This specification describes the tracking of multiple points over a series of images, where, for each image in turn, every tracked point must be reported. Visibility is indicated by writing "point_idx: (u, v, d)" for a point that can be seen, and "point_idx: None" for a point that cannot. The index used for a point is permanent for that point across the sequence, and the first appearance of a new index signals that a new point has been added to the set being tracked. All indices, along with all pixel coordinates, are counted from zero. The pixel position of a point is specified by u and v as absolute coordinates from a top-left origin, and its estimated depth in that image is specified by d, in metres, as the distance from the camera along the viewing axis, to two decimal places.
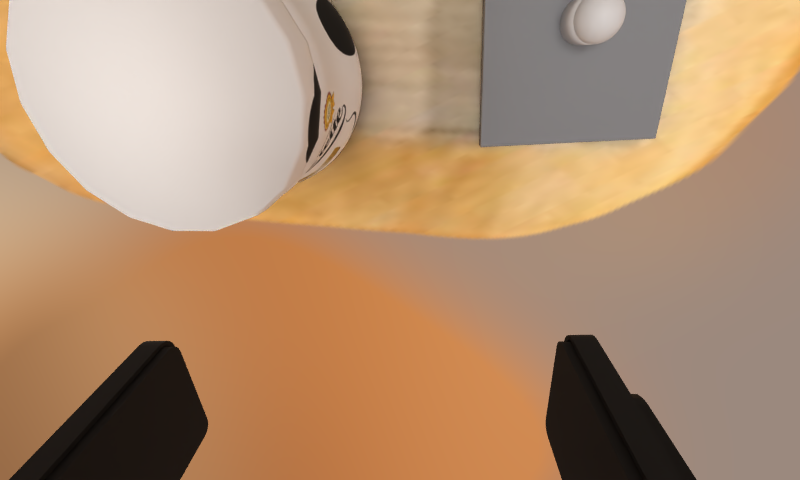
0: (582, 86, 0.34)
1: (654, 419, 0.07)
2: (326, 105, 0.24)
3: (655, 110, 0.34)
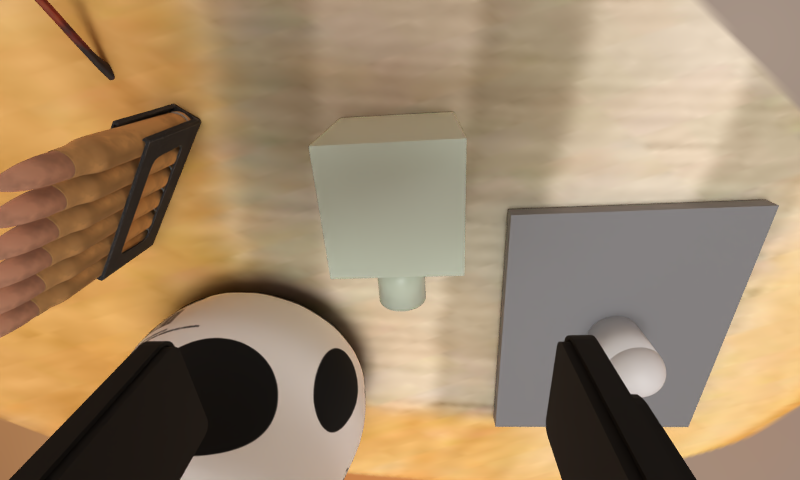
0: None
1: (654, 419, 0.07)
2: None
3: (689, 406, 0.31)
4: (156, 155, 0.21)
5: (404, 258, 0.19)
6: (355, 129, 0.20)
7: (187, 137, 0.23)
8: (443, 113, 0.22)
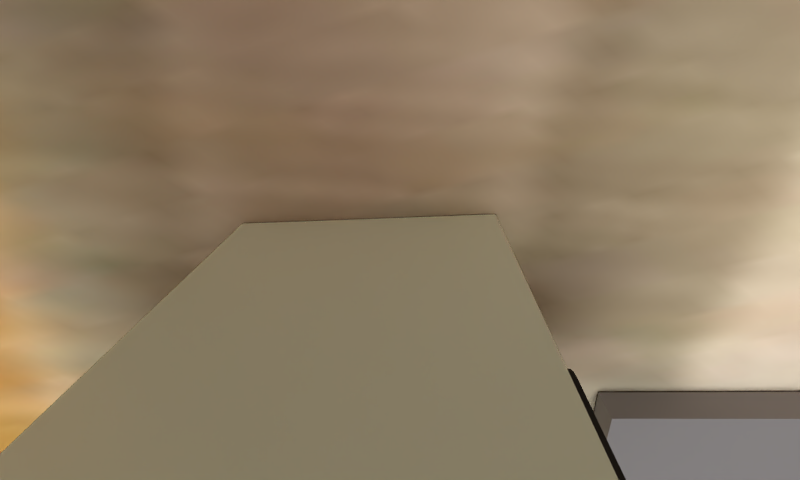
0: None
1: (580, 390, 0.08)
2: None
3: None
4: None
5: None
6: (231, 312, 0.07)
7: None
8: (474, 223, 0.10)
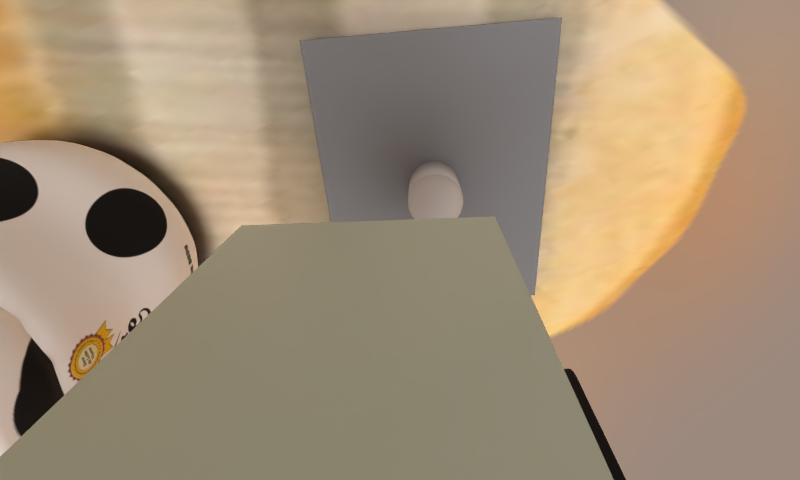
0: None
1: (581, 389, 0.08)
2: (73, 361, 0.20)
3: (530, 269, 0.31)
4: None
5: None
6: (229, 315, 0.07)
7: None
8: (473, 225, 0.10)
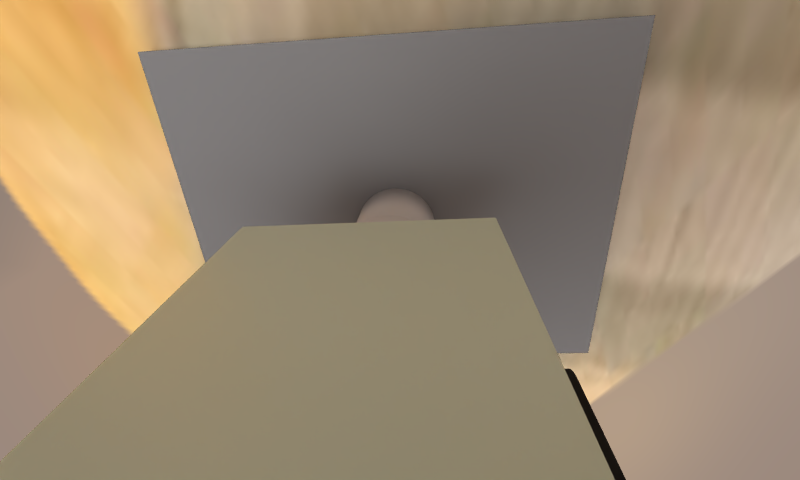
0: None
1: (580, 390, 0.08)
2: None
3: None
4: None
5: None
6: (231, 317, 0.07)
7: None
8: (474, 226, 0.10)
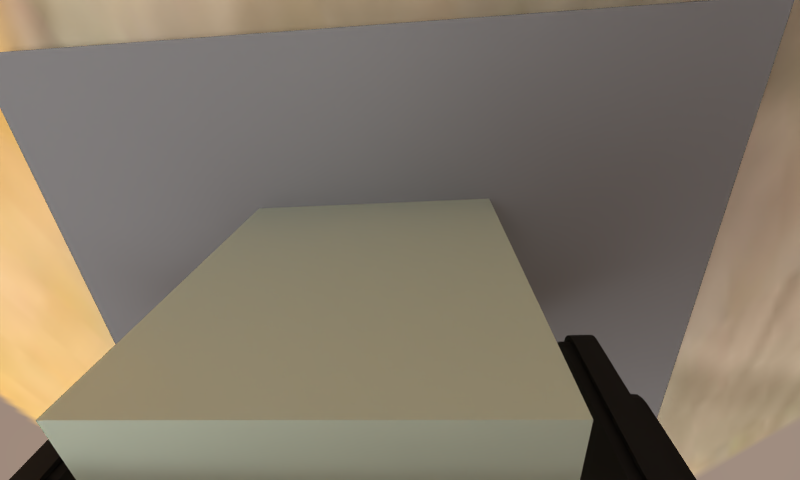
0: None
1: (654, 419, 0.07)
2: None
3: None
4: None
5: None
6: (257, 277, 0.08)
7: None
8: (469, 205, 0.11)
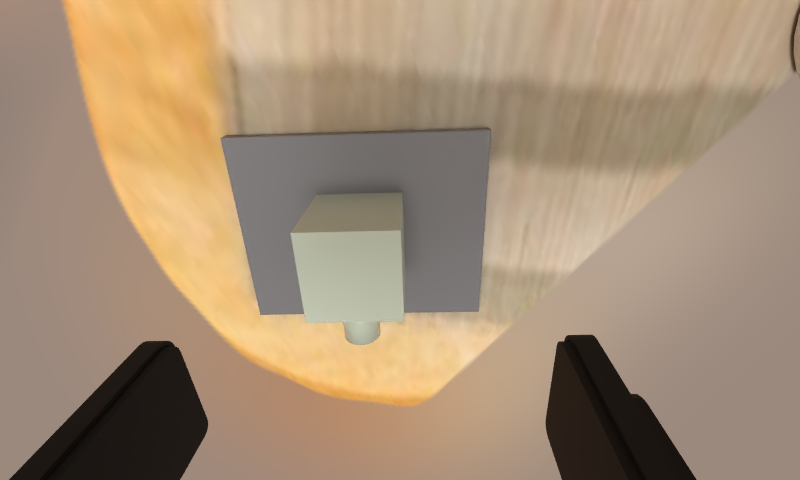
0: None
1: (654, 419, 0.07)
2: None
3: (286, 309, 0.35)
4: None
5: (360, 308, 0.26)
6: (325, 212, 0.27)
7: None
8: (394, 194, 0.30)
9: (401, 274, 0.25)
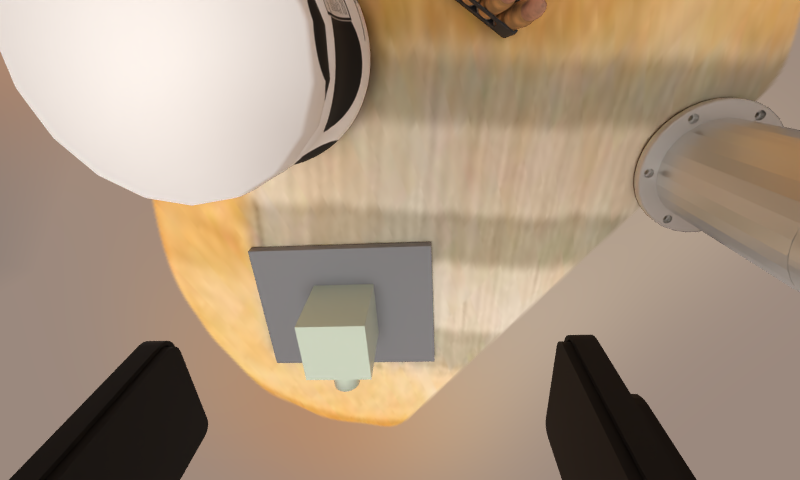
0: None
1: (654, 419, 0.07)
2: None
3: (295, 359, 0.48)
4: (499, 25, 0.29)
5: (341, 371, 0.39)
6: (318, 306, 0.40)
7: (497, 30, 0.32)
8: (367, 286, 0.43)
9: (367, 351, 0.38)
